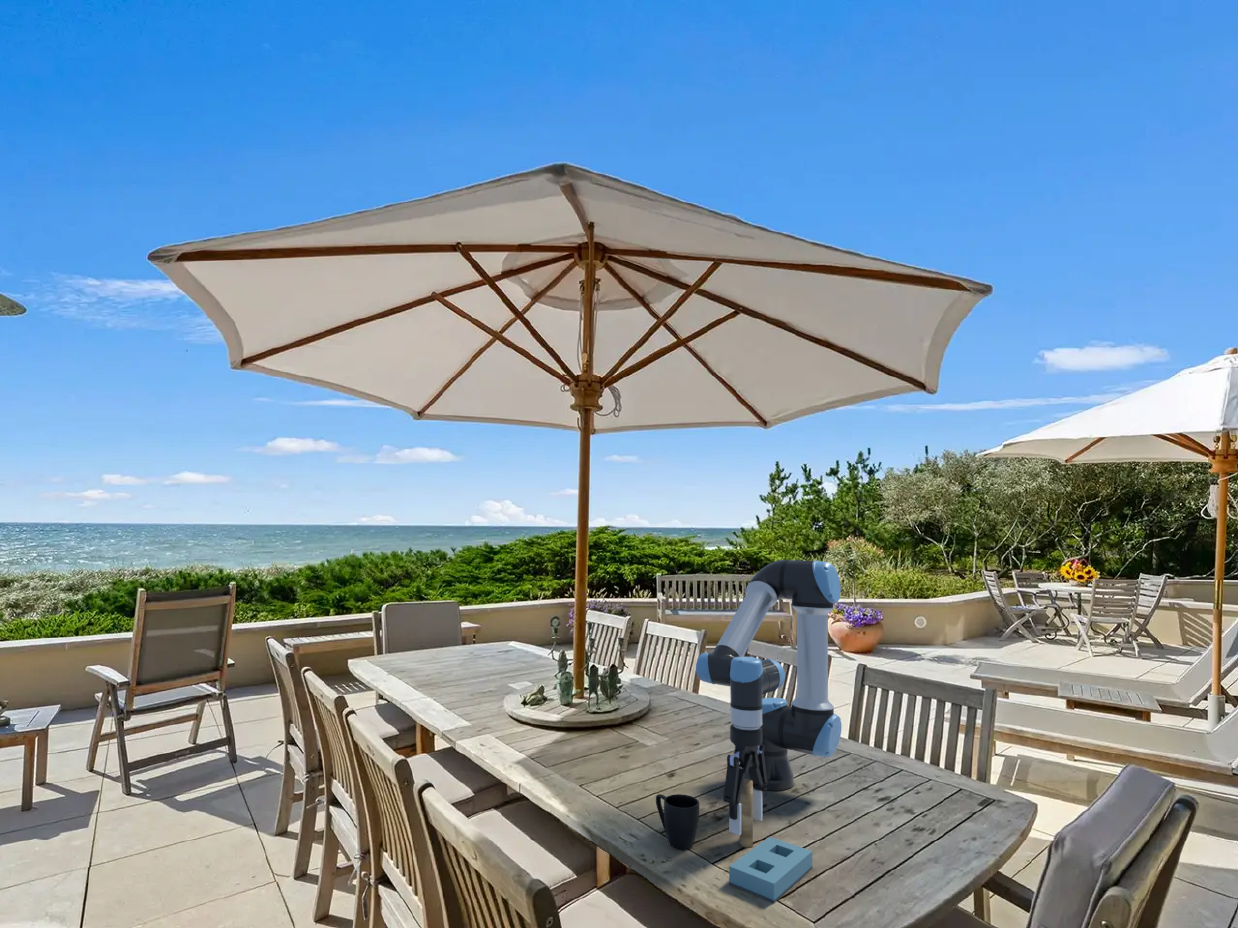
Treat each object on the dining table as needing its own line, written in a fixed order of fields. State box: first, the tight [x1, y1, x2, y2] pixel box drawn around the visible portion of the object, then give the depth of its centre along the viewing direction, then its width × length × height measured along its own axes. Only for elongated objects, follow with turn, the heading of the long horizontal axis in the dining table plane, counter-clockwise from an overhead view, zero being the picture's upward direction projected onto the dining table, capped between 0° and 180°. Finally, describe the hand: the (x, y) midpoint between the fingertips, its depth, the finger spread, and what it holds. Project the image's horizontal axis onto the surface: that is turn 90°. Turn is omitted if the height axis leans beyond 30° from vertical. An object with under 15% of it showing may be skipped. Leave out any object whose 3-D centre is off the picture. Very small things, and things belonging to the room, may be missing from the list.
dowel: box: [739, 779, 754, 849], centre depth 149 cm, size 3×3×14 cm
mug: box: [655, 793, 700, 851], centre depth 149 cm, size 8×12×10 cm
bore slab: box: [728, 836, 813, 904], centre depth 134 cm, size 18×10×4 cm, turn 140°
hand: (746, 825), depth 148 cm, fingers open, 9 cm apart
